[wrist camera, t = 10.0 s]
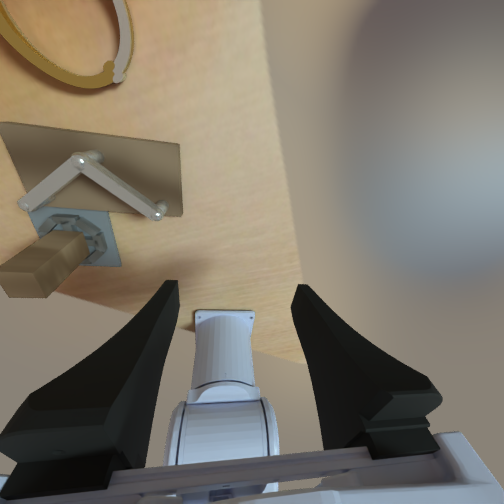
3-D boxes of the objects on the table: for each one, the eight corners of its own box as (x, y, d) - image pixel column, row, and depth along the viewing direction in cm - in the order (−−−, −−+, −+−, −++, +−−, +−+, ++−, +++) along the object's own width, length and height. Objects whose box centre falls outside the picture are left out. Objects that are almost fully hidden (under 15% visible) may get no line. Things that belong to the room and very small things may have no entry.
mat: (121, 265, 23) (120, 266, 23) (54, 262, 22) (52, 264, 22) (107, 208, 19) (105, 210, 19) (26, 202, 18) (23, 203, 18)
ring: (80, 118, 14) (-116, -65, 9) (97, 110, 16) (-49, -37, 11) (155, 40, 12) (-34, -240, 7) (163, 44, 15) (24, -163, 10)
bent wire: (172, 207, 20) (162, 224, 17) (51, 197, 18) (16, 213, 15) (168, 154, 17) (155, 162, 14) (28, 137, 16) (-19, 142, 13)
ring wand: (111, 261, 22) (72, 310, 17) (56, 258, 21) (-4, 309, 16) (98, 216, 19) (47, 257, 14) (35, 211, 19) (-46, 253, 13)
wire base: (182, 212, 20) (181, 216, 19) (41, 201, 18) (32, 205, 18) (179, 143, 17) (177, 145, 16) (7, 121, 15) (-6, 121, 14)
